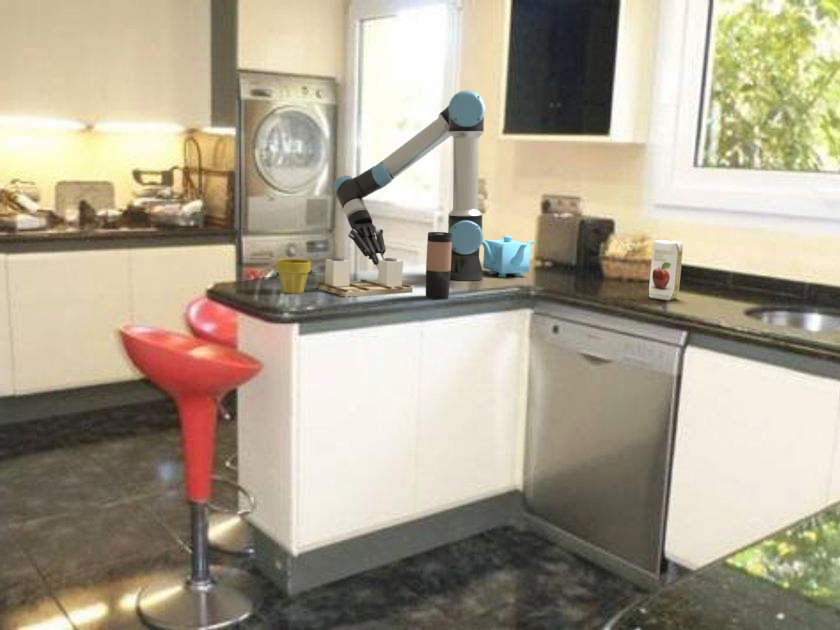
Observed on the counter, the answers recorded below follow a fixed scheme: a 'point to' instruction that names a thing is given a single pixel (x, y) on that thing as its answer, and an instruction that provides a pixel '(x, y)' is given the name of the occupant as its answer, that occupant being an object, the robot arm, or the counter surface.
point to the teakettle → (506, 256)
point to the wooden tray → (365, 288)
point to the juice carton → (665, 269)
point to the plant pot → (293, 274)
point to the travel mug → (438, 265)
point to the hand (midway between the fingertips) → (383, 271)
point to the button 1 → (337, 272)
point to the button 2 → (390, 272)
